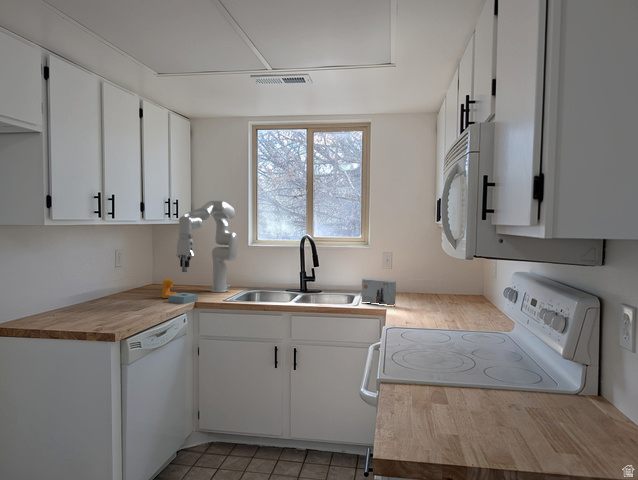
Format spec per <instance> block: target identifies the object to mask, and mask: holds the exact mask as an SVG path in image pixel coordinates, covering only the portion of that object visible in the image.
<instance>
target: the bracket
mask: <svg viewBox="0 0 638 480" xmlns="http://www.w3.org/2000/svg"><path fill="white" fill-rule="evenodd" d="M173 285H174V281H173V278H164V279H163V282H162V291H161V298H162V299H169V295H173V294H178V291H177V292H175V291H171V290H170V289H172V288H173Z"/></svg>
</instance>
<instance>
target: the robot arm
mask: <svg viewBox="0 0 638 480" xmlns="http://www.w3.org/2000/svg"><path fill="white" fill-rule="evenodd" d="M235 210H236V209H234V207H233V206H232V205H230V204H229V203H228V202H226V201H223V200H210V201H208V202H206V203H205V204H204V205H202V206H201V207H199V208H197V209H194V210H190V211H188V212H186V213H185V214H183V215H182V216H180V217H179V219H178V239H177V244H176V253H175V255H176V256H177V258H178V259H179V262H180V263H179V265H180V266H179V267H180V268H182V255H185V256H186V261H185V267H187V268H189V267H190V261H191V259H192V258H194V257H195V256H194V255H195V246H194V245H195V244H194V239H192V238H193V234H192V231H193V230H198V229H201V227H202V226H203V221H206V220H208V219H209V218H211V217H212V218H213V219H214V221H215V224H216V228H215V229H216V230H215V243H216V244H217V245H219V246H216V247H213V249H212V250H211V258H212V288H211V289H210V292H212V293H226V291H227V292H229V289H228V288H230V287H231V284H228V283H227V274H228V273H227V272H228V271H227V270H228V267H227V263H226V262H227V261H228V262H229V261H230V262H233V261H235V260H236V258H237V254H238V253H237V252H238V242H239V239H238V234H237V233H236V232H233V231H229V226H230V225H229V223H228V221H227V220H231V219H233V218H235V216H236V211H235ZM220 245H221V246H220ZM225 261H226V262H225Z"/></svg>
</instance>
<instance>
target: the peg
mask: <svg viewBox="0 0 638 480" xmlns="http://www.w3.org/2000/svg"><path fill="white" fill-rule="evenodd" d="M185 261H186V256H185V255H182V267H181V272H182V273H188V267H185Z"/></svg>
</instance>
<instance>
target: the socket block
mask: <svg viewBox="0 0 638 480" xmlns="http://www.w3.org/2000/svg"><path fill="white" fill-rule="evenodd" d="M198 298H199V297H198V294H197V293H191V292H190V293H189V292H180V293H179V292H178V293H177V294H173V295H169V298H168V303H173V304H181V305H182V304H183V305H187V304H190V303H194V302H198V301H199V300H198Z"/></svg>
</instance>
